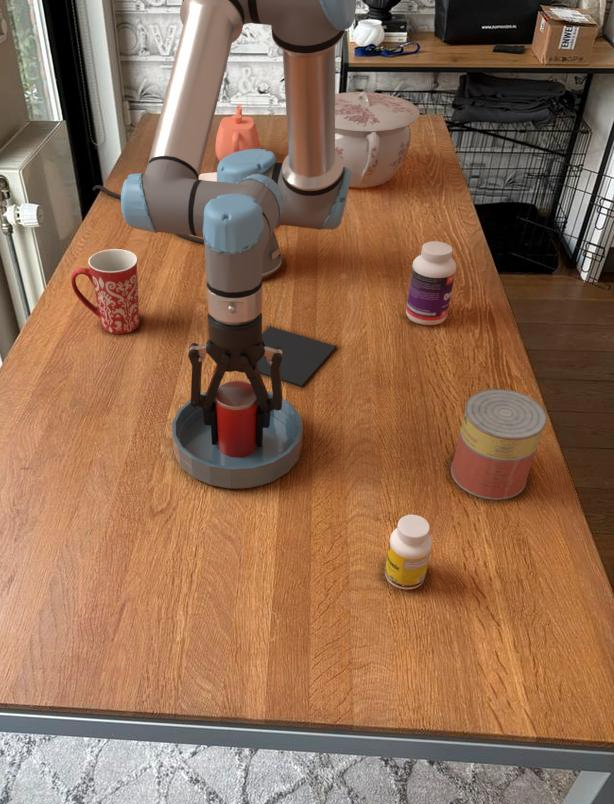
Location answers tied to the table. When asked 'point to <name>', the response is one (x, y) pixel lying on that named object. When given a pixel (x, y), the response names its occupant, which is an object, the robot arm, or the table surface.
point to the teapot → (236, 135)
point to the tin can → (236, 418)
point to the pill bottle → (431, 284)
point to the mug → (113, 289)
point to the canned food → (497, 443)
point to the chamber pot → (372, 135)
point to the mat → (294, 355)
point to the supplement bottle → (408, 552)
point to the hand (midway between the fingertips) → (237, 440)
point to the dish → (237, 471)
